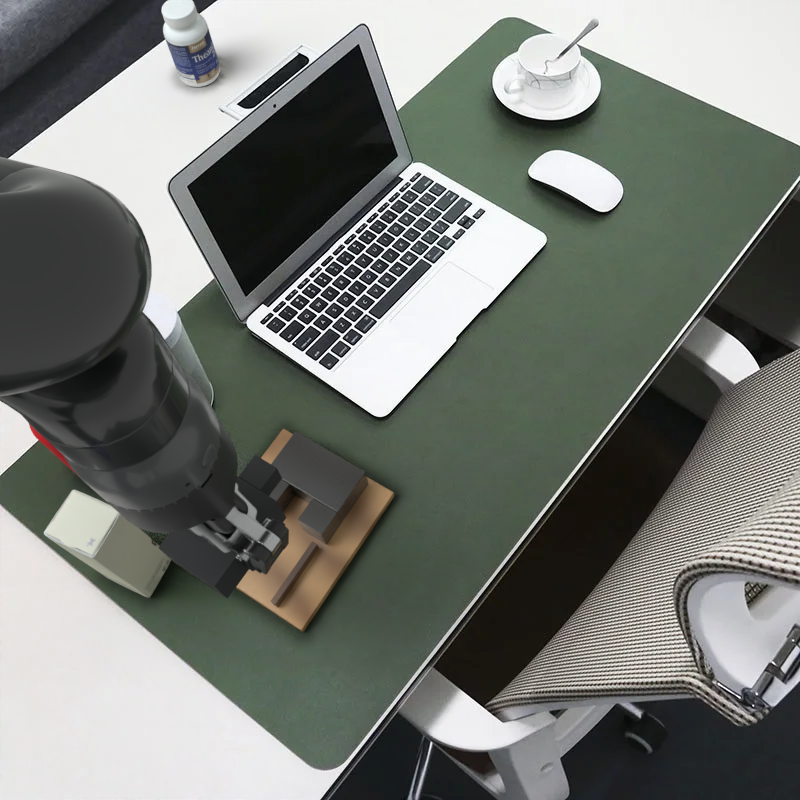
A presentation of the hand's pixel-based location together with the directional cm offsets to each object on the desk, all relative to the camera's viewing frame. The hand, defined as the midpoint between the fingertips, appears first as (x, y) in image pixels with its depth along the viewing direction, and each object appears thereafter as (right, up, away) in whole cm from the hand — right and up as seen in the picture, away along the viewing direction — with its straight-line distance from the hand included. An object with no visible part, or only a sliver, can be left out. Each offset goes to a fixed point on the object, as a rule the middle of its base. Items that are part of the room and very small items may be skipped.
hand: (228, 537), depth 60 cm
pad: (0, 0, +1) cm, 1 cm away
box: (-12, -6, +18) cm, 22 cm away
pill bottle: (-13, +52, +48) cm, 71 cm away
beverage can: (-17, +4, +23) cm, 29 cm away
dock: (+2, -2, +19) cm, 19 cm away
